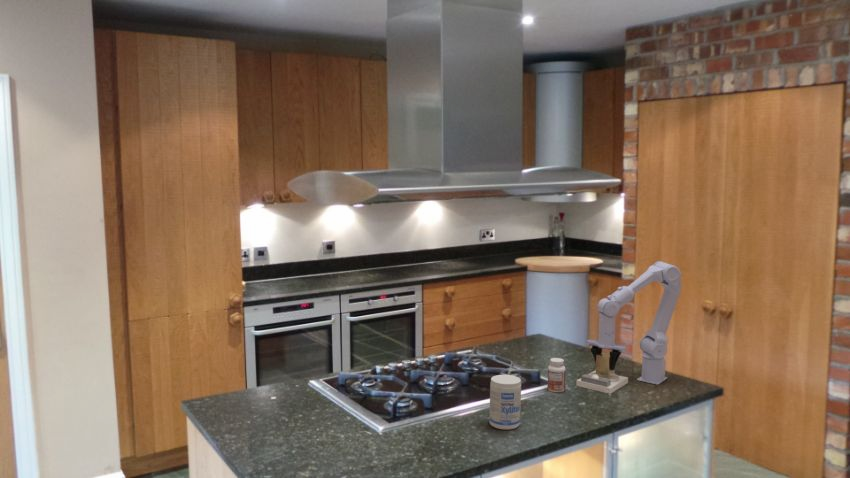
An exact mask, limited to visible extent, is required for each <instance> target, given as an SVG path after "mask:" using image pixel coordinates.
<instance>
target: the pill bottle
mask: <svg viewBox="0 0 850 478" xmlns="http://www.w3.org/2000/svg"><path fill="white" fill-rule="evenodd" d="M549 363H550V364H549V365H548V367H547V390H548V391H549V392H551V393H563V392H564V391H565V390H566V375H567V374H566V367H565V364H564V359H563V358H560V357H552V358H550V361H549Z"/></svg>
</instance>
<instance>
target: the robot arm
mask: <svg viewBox="0 0 850 478" xmlns="http://www.w3.org/2000/svg"><path fill="white" fill-rule="evenodd" d="M682 275H683V273H682V272H681V270H680V269H679V267H678V266H676V265H673V264H669V263H667V262H664V261H661V260H658V261H656V262H654V263H653V264H652V265H650V266H649V267H648V268H647V270H646V271H645V272H643V273H642V274H641V275H640V276H638V278H636V279H635V280H634V281H632V282H631V283H630V284H629V285H622V286H619V287H617V289H616V291H614V292H613V293H611V294H610V295H607V296H606V298H605V297H604V298H602V299H601V298H600V300H599V301H598V303H597V305H596V310H597V312H598V336H597V337H598V338H597V339H598V340H595V339H594V340H593V339H587V340H586V346H587V347H591V348H590V353H592V356H593V359H594V362H595V364H596V355H597V354H599V353H601V352H603V349H604V350H611V351H609V353H610V360H611V363H610V369H611V370H614V369H616V364H617V363H618V359H619V357H620V356H621V354H625V353H627V346H626V345H625V346H624V345H622V344H618V343H615V341H616V339H615V337H616V336H615V335H616V316H617V315H618V314H619V311H620V309H621V308H622V307H625V305H626V304H628V303H629V302H631V301H632V300H633V299H634V297H635V294H636V293H638V292H639V291H641V290H642V289H644V288H645V287H647V286H648V285H650V284H651V283H654V282H655V283H661V286H662V287H663V289H664V290H663V293H662V296H661V299H660V300H659V301H660V302H659V305H658V308H657V311H656V314H655V315H654V318H653V322H652V324H651V328H650V329H649V330H647V331H646V332H645V334H644V336H643V337H642V338H641V340H640V342H639V349H640V350H641V352H642V355H641V356H642V360H641V376H639V377H638V378H637V379H636V380H637V381H639V382H644V383H648V384H653V385H660V384H661V383H663V382H665V380H667V379H668V376H666V365H667V364H666V359H665V357H666V354H667V352H668V347H667V344H668V338H667V332H668V329H669V326H670V323H671V320H672V318H673V315H674V312H675V308H676V305H677V304H678V303H677V302H678V300H679V297H680V294H681V292H682V280H681V277H682Z"/></svg>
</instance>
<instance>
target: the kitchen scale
mask: <svg viewBox="0 0 850 478" xmlns="http://www.w3.org/2000/svg"><path fill="white" fill-rule="evenodd" d="M580 376H581V377H580V378H578V379H577V380H576V387H580V388H584V389H589V390H593V391H595V392H597V391H598V392H601V393H604V394H608V395H610V394H613V393H614V392H616V391H617V390H619V389H620V388H623V386H625V385H626V384H628V383H629V377H627V376H623V375H618V374H616V373H614V374H612V375H610V376H604V375H600V374H596V369H595V370H593V371H592V372H589V373H585V374H583V375H580Z"/></svg>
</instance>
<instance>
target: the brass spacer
mask: <svg viewBox="0 0 850 478" xmlns="http://www.w3.org/2000/svg"><path fill="white" fill-rule="evenodd" d="M610 363H611V360H610V352H604V351H602V352H601V353H599V354H597V355H596V363H595V370H596V374H600V375H604V376H610V375H612V374H615V373H616V372H615V369H616V368H615V369H614V370H611V369H610Z"/></svg>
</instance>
